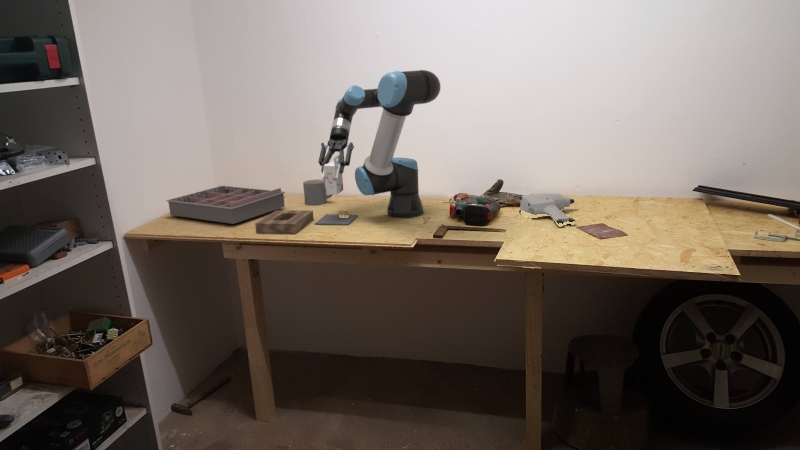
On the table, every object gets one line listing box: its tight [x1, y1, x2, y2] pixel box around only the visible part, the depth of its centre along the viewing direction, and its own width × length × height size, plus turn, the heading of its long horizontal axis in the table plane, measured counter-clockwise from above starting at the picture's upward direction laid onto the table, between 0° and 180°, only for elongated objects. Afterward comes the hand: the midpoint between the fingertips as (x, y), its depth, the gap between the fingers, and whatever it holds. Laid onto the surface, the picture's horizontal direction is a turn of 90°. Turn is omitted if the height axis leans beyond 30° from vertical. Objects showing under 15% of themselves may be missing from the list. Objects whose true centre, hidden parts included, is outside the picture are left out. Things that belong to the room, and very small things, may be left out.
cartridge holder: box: [254, 209, 314, 235], centre depth 233 cm, size 16×20×4 cm
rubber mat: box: [314, 213, 359, 226], centre depth 239 cm, size 14×14×1 cm
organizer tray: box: [165, 185, 286, 225], centre depth 257 cm, size 32×40×10 cm
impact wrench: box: [518, 193, 576, 224], centre depth 227 cm, size 8×23×25 cm
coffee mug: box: [302, 178, 333, 206], centre depth 268 cm, size 13×10×10 cm
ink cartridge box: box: [324, 154, 344, 196], centre depth 234 cm, size 9×5×15 cm, turn 169°
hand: (330, 179), depth 230 cm, fingers closed on ink cartridge box, 5 cm apart
